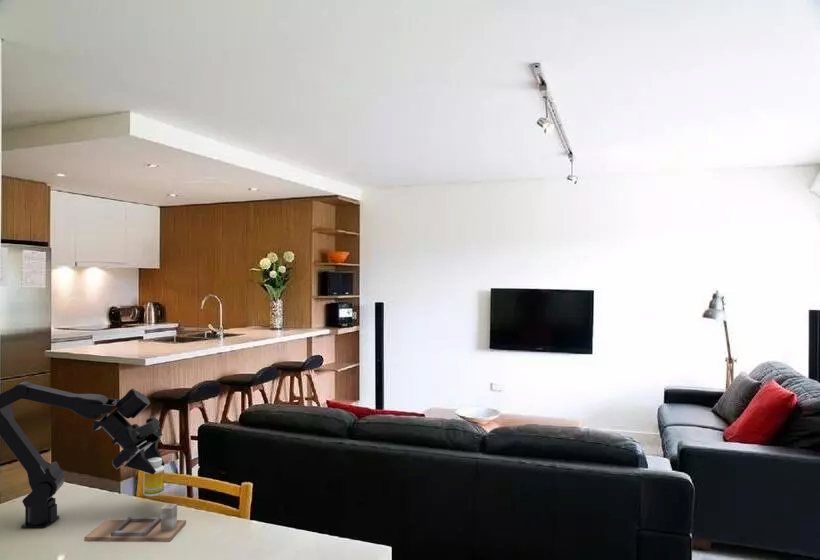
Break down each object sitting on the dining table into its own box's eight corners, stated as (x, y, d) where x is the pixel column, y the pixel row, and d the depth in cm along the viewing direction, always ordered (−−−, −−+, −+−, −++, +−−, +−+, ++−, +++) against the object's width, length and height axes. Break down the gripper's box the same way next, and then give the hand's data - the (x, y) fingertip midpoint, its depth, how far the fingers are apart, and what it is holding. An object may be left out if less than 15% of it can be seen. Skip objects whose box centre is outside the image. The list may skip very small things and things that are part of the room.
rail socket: (84, 540, 138) (84, 513, 138) (106, 523, 148) (106, 498, 148) (170, 541, 138) (170, 514, 138) (185, 523, 148) (186, 498, 148)
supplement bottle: (141, 492, 153) (141, 458, 153) (161, 488, 157) (161, 455, 157) (145, 498, 149) (146, 463, 149) (166, 493, 153) (166, 460, 153)
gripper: (124, 419, 144) (164, 460, 144) (156, 403, 162) (192, 440, 162) (94, 447, 144) (134, 489, 144) (129, 428, 162) (165, 465, 162)
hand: (158, 469), depth 153 cm, fingers closed on supplement bottle, 5 cm apart
